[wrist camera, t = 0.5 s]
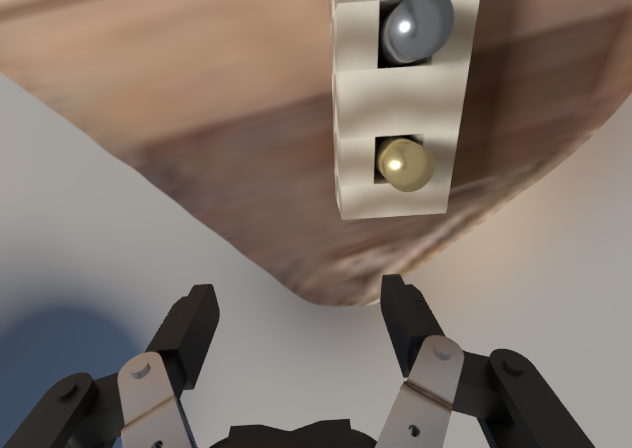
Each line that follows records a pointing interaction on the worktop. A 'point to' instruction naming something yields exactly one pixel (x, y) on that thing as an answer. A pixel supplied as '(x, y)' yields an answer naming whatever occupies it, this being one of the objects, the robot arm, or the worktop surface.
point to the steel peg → (414, 31)
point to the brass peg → (403, 163)
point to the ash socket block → (394, 108)
